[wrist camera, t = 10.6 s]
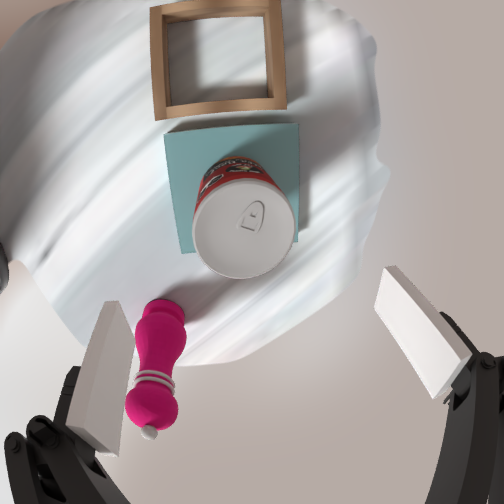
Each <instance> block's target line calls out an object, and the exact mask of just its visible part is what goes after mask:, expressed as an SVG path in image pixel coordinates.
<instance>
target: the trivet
mask: <svg viewBox="0 0 504 504" xmlns="http://www.w3.org/2000/svg"><path fill="white" fill-rule="evenodd" d="M164 143H165V152H166V160H167V167H168V175H169V182H170V189H171V195H172V202H173V208H174V214H175V220H176V226H177V232H178V237H179V243H180V248H181V253H182V254H185V253H195V252H196V250H195V248H194V243H193V238H192V237H193V236H192V224H193V217H194V211H195V206H196V201H197V196H198V191H199V187H200V183H201V180H202V178H203V176H204V174H205V173H206V172H207V170H208V169H209V168H210V167H211V166H212V165H213V164H215V163H216V162H218V161H220V160H222V159H224V158H227V157H233V156H242V157H246V158H250V159H252V160H254V161H256V162H257V163H258V164H260V165H261V166H262V167H263V168H264V170H265V171H266V172H267V173H268V174H269V176H270V177H271V178H272V179H273V181H274V182H275V183H276V184H277V186H278V187H279V188H280V189H281V191H282V192H283V193H284V194H285V196H286V197H287V199H288V200H289V202H290V204H291V206H292V208H293V211H294V215H295V219H296V233H295V238H294V241H293V242H298V218H299V124H296V123H268V124H246V125H231V126H220V127H209V128H200V129H192V130H184V131H177V132H170V133H166V134H164Z"/></svg>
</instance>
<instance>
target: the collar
mask: <svg viewBox="0 0 504 504" xmlns="http://www.w3.org/2000/svg"><path fill="white" fill-rule="evenodd" d="M244 16H261V17H263V21H264V37H265V54H266V72H267V92H268V98H256V99H236V100H222V101H211V102H201V103H193V104H185V105H178V106H171V94H170V80H169V62H168V38H167V24H169V23H175V22H181V21H189V20H197V19H207V18H220V17H244ZM150 55H151V75H152V90H153V102H154V114H155V121H158V120H164V119H170V118H177V117H184V116H192V115H200V114H210V113H220V112H233V111H249V110H287V99H286V76H285V57H284V41H283V26H282V13H281V1H280V0H192V1H184V2H177V3H171V4H165V5H160V6H154V7H150Z"/></svg>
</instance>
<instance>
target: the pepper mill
mask: <svg viewBox="0 0 504 504" xmlns="http://www.w3.org/2000/svg"><path fill="white" fill-rule="evenodd" d="M184 320H185V316H184V313H183V310H182V309H181V308H180V307H179V306H178V305H177V304H175V303H174V302H172V301H168V300H162V299H159V300H154V301H152V302H150V303H148V304H147V305H146V306H145V308H144V312H143V316H142V319H141V320H140V321H139V322H138V324H137V326H136V330H135V340H136V347H137V351H138V354H139V358H140V370H139V372H138V373H136V374H135V376H134V379H133V380H134V382H133V389H132V390H130V391H129V393H128V394H127V396H126V400H125V409H126V413H127V415H128V417H129V418H130V419H131V421H132V422H133V423H135V424H136V425H137V426H139V427H142V429H141V434H142V436H143V437H144V438H145V439H147V440H153V439H155V438H156V437H157V434H158V432H157V430H163V429H166V428H168V427H170V426H171V425H172V424H173V423H174V422H175V420H176V418H177V415H178V404H177V401H176V400H175V398H174V397H173V395H174V392H175V391H174V388H175V383H174V381H173V380H172V369H173V366H174V363H175V362H176V360H177V359H178V358H179V356H180V355H181V354H182V352H183V350H184V347H185V344H186V338H187V336H186V331H185V328H184Z"/></svg>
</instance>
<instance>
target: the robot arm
mask: <svg viewBox="0 0 504 504" xmlns="http://www.w3.org/2000/svg"><path fill="white" fill-rule="evenodd" d="M8 280H9V269H8V263H7V259H6V256H5V253H4V250H3V248H2V246H1V244H0V294H1V293H2V292H3V290H4V289H5V288H6V286H7V284H8ZM374 309H375V311H376V312H377V313H378V315H379V316H380V318H381V319H382V321H383V322H384V323H385V325H386V326H387V328H388V329H389V331H390V332H391V334H392V335H393V337H394V338H395V340H396V341H397V343H398V344H399V346H400V347H401V349H402V350H403V352H404V353H405V355H406V357H407V358H408V360H409V361H410V363H411V364H412V366H413V367H414V369H415V370H416V372H417V374H418V376H419V377H420V379H421V380H422V382H423V384H424V385H425V387H426V389H427V390H428V392H429V394H430V395H431V397H432V399H434V398H436V397H438V396H440V395H442V394H444V393H445V392H446V391H447V389H448V388H449V387H450V385H451V387H452V388H453V390H452V391H451V392H450V394H449V395H448V396H447V397H446V399H445V400H444V402H443V404H445V403H446V402H447V401H448V400H449V399H450V402H449V403H448V405H449V409H448V416H447V422H446V428H445V433H444V438H443V443H442V447H441V452H440V456H439V460H438V464H437V467H436V471H435V474H434V478H433V481H432V485H431V487H430V491H429V493H428V496H427V499H426V502H425V504H486V503H487V499H488V504H504V356H500V357H494V356H492V355H491V354H489V353H487V352H482V353H480V352H479V351H478V350H477V349H476V347H475V346H474V345H473V344H472V342H471V341H470V340H469V339H468V337H467V336H466V335H465V334H464V332H462V331H461V329H460V328H459V327H458V326H457V324H456V323H455V322H454V321H453V319H452V318H451V317H450V316H448V315H447V314H445V313H444V312H438V311H437V310H436V309H435V307H433V305H432V304H431V303H430V302H429V301H428V300H427V298H426V297H425V296H424V295H423V294H422V293H421V292H420V291H419V290H418V289H417V287H416V286H415V285H413V283H412V282H411V281H410V280H409V279H408V278H407V277H406V276H405V275H404V274H403V273H402V272H401V271H400V269H399V268H398V267H397V266H389V267H384V270H383V274H382V278H381V282H380V286H379V290H378V294H377V298H376V302H375V305H374ZM135 343H136V340H135V338H134V336H133V333H132V331H131V329H130V327H129V324H128V322H127V320H126V317H125V315H124V313H123V310H122V308H121V305H120V303H119V301H107V302H104V305H103V307H102V310H101V312H100V315H99V317H98V320H97V323H96V325H95V328H94V331H93V333H92V336H91V339H90V342H89V345H88V348H87V351H86V353H85V356H84V360H83V363H82V366H73V367H72V368H71V370H70V371H69V373H68V374H67V375H66V379H65V381H64V385H63V386H64V387H63V388H62V391H61V395H60V398H59V401H58V405H57V408H56V412H55V416H54V420H53V422H52V421H51V420H50V419H49V418H47V417H46V416H44V415H38V416H35V417H33V418H32V419H31V420H30V421H29V423H28V425H27V428H26V435H27V438H25V437H24V436H23V435H21V434H20V433H18V432H12V433H10V434H9V435H8V436H7V437H6V439H5V442H4V450H5V458H6V465H7V471H8V477H9V482H10V487H11V491H12V495H13V499H14V503H15V504H130V502H129V501H128V500H127V499H126V498H125V496H124V495H123V494H122V493H121V491H120V490H119V489H118V487H117V486H116V485H115V484H114V482H113V481H112V479H111V478H110V477H109V475H108V474H107V472H106V471H105V470H104V468H103V467H102V465H101V464H100V462H99V461H98V459H97V458H96V457H95V450H96V451H98V452H99V453H100V454H102V455H107V456H114V457H119V447H120V437H121V427H122V420H123V412H124V405H125V398H126V392H127V386H128V380H129V373H130V368H131V363H132V358H133V352H134V348H135ZM488 495H489V497H488Z"/></svg>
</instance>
